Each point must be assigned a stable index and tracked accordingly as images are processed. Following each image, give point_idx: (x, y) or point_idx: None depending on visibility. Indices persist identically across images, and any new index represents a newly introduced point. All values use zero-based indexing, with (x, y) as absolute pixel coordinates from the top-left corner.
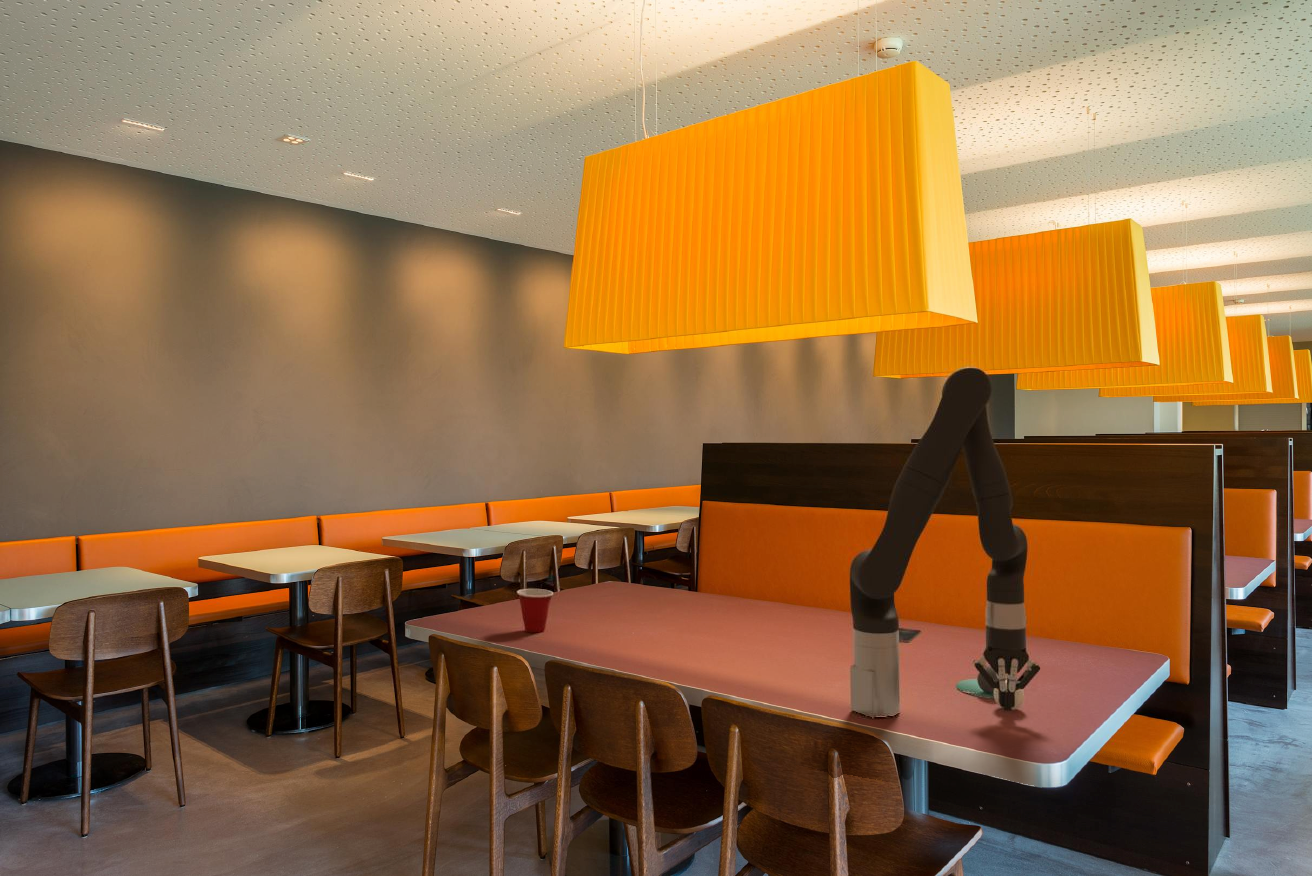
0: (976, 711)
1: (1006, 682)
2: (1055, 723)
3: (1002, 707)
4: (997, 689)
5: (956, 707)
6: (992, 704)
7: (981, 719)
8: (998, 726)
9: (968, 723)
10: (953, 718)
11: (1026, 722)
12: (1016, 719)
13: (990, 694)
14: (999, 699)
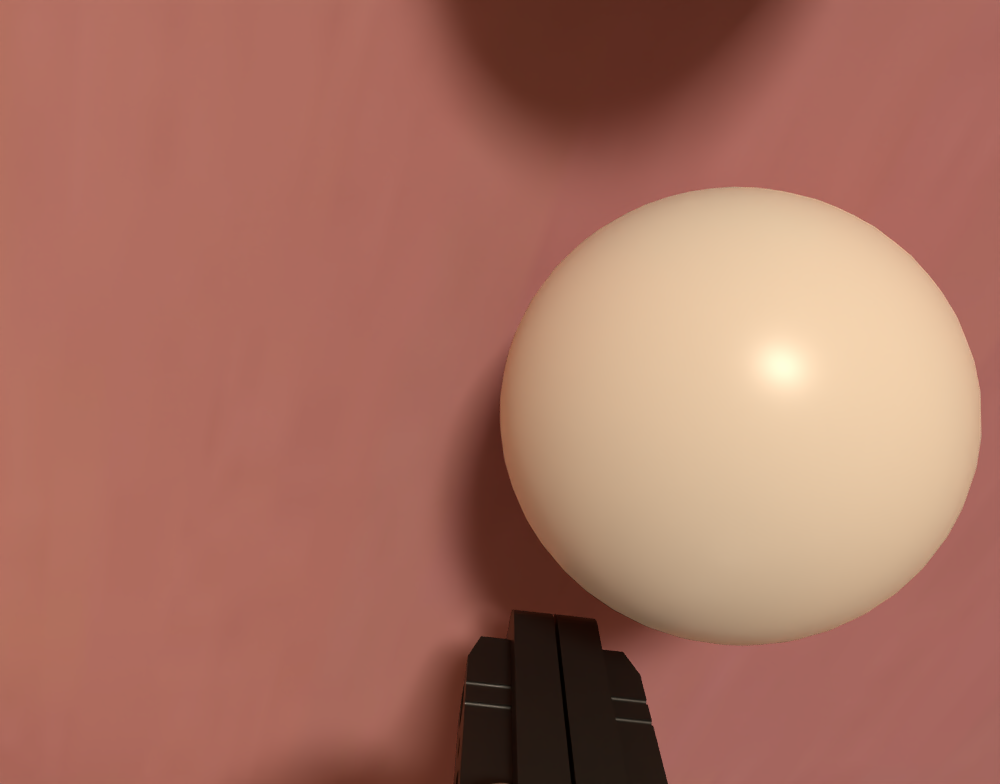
0: (281, 422)
1: (718, 582)
2: (915, 707)
3: (509, 626)
4: (533, 513)
5: (72, 293)
6: (538, 164)
7: (283, 634)
8: (390, 774)
9: (148, 722)
10: (22, 616)
11: (670, 692)
12: (613, 627)
13: None
14: (459, 739)
